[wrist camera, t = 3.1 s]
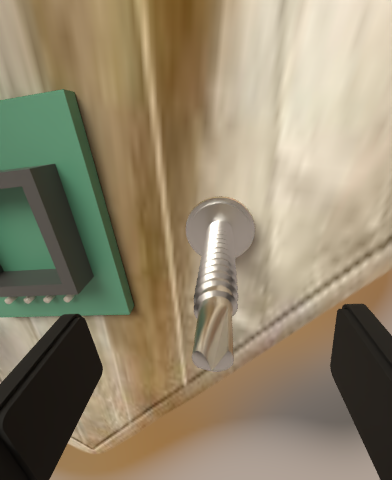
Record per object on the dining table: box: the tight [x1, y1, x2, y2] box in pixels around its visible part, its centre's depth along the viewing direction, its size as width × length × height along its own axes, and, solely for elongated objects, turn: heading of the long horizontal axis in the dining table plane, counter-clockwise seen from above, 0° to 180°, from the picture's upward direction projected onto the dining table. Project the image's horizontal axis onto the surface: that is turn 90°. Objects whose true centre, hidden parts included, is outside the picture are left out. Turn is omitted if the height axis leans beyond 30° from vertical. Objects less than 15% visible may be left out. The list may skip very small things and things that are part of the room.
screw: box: [186, 196, 255, 372], centre depth 13 cm, size 13×5×5 cm
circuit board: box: [0, 89, 134, 317], centre depth 19 cm, size 14×18×4 cm
